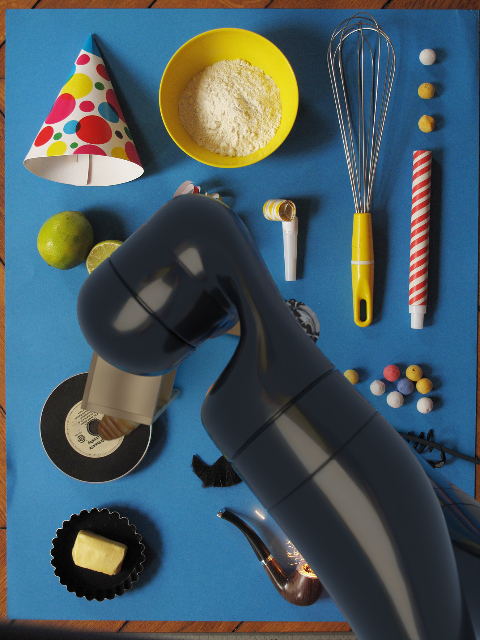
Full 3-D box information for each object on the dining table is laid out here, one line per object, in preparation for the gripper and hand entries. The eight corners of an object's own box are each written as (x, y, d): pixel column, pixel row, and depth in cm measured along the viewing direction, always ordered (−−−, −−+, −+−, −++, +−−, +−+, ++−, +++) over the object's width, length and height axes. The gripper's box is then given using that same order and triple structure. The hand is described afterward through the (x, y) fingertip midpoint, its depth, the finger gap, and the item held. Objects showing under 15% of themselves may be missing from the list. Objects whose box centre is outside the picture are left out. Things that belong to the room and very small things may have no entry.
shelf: (195, 322, 86) (174, 324, 62) (178, 395, 86) (150, 425, 62) (144, 310, 86) (103, 307, 62) (127, 383, 86) (80, 408, 62)
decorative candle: (287, 294, 85) (302, 284, 60) (311, 332, 85) (337, 338, 60) (249, 318, 85) (248, 318, 60) (273, 356, 85) (283, 373, 60)
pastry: (112, 446, 86) (106, 452, 82) (92, 421, 86) (85, 425, 82) (148, 418, 86) (143, 423, 82) (127, 392, 86) (121, 396, 82)
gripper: (123, 320, 40) (161, 319, 57) (269, 354, 40) (263, 343, 57) (140, 244, 40) (173, 266, 57) (287, 277, 40) (276, 289, 57)
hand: (218, 304), depth 57 cm, fingers closed on block, 5 cm apart
